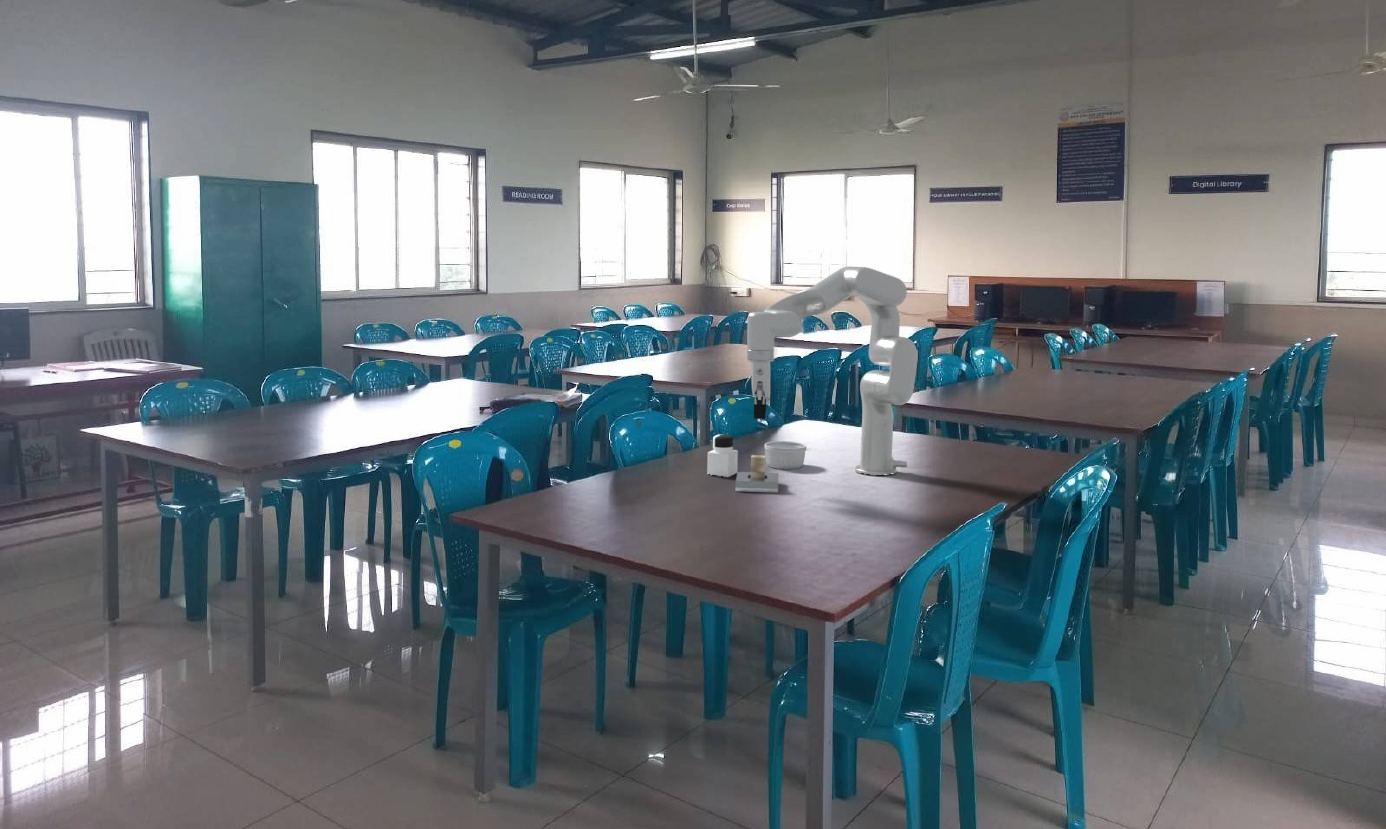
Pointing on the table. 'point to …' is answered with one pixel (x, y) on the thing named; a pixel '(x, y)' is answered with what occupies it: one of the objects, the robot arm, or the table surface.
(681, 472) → the table surface
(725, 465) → the medicine bottle
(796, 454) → the ramekin
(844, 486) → the table surface
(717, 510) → the table surface
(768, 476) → the plate
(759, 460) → the beige upright block
